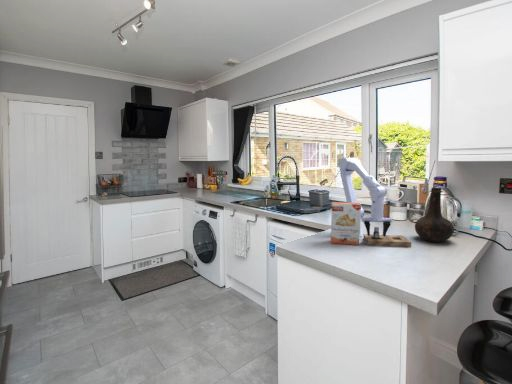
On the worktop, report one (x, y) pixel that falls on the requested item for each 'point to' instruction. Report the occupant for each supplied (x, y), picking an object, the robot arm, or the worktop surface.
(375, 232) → the drill bit
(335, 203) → the cracker box
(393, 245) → the block
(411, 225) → the worktop surface
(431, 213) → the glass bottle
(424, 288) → the worktop surface
